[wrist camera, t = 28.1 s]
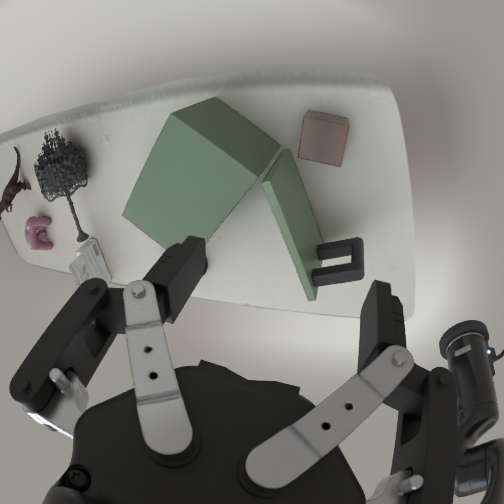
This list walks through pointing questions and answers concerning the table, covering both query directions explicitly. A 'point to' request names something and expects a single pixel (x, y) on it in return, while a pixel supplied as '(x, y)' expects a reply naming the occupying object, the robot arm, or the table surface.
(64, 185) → the massage brush
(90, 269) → the ink cartridge box
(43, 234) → the video game controller
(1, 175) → the table surface
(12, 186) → the dinosaur model
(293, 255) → the door
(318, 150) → the block
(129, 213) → the cupboard
